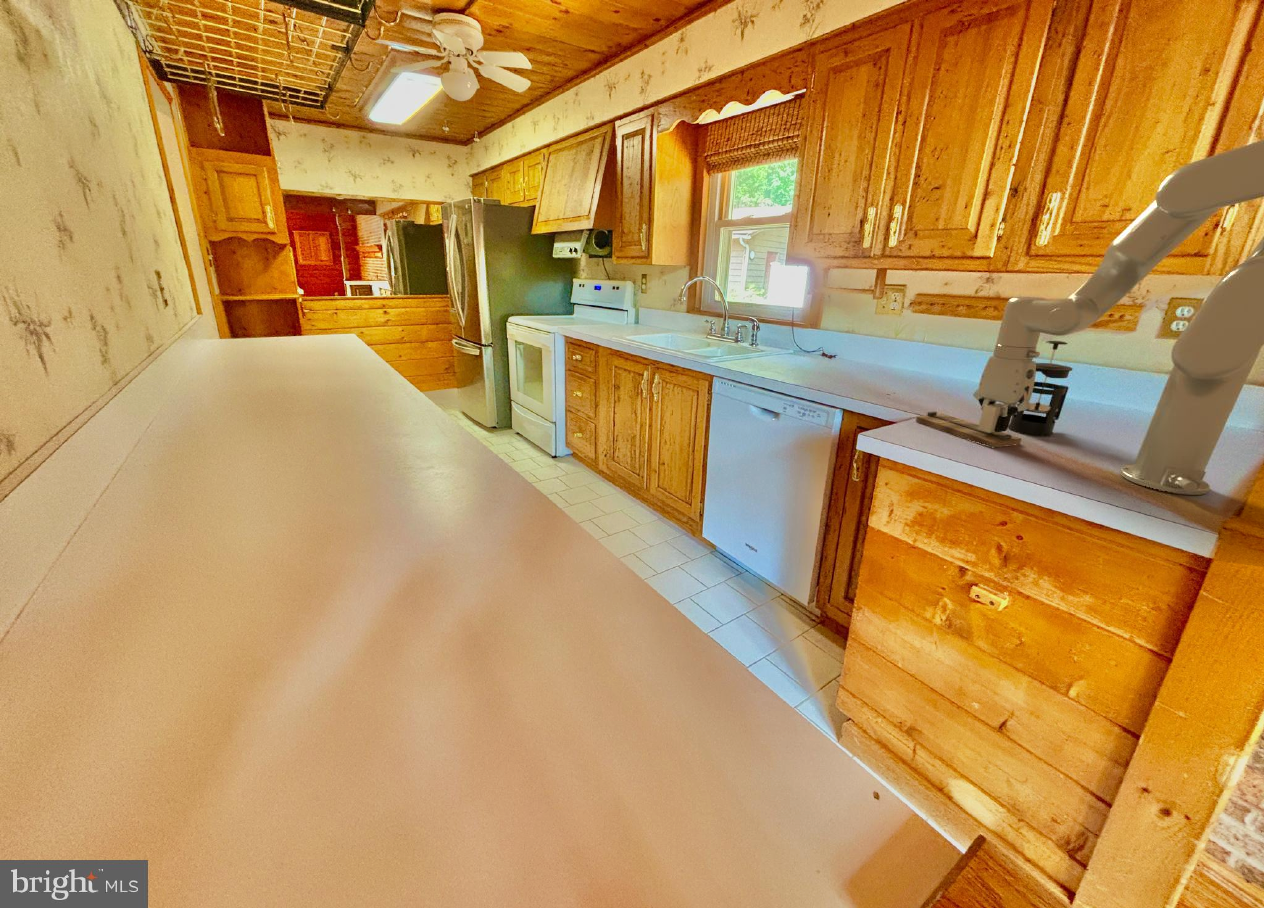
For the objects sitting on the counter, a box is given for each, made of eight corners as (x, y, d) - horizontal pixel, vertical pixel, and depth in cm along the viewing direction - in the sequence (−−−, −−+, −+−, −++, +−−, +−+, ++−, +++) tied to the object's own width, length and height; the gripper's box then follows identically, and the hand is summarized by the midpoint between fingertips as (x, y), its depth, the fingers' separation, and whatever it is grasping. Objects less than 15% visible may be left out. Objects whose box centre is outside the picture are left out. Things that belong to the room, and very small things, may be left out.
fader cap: (1006, 433, 122) (1014, 406, 120) (988, 435, 120) (996, 408, 118) (994, 429, 125) (1002, 403, 122) (976, 432, 123) (984, 405, 121)
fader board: (1019, 444, 121) (1022, 434, 120) (992, 448, 118) (995, 438, 117) (940, 418, 140) (942, 410, 139) (915, 421, 138) (917, 413, 137)
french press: (1026, 437, 126) (1054, 344, 117) (996, 425, 134) (1021, 338, 126) (1068, 435, 127) (1099, 343, 119) (1036, 424, 136) (1062, 337, 127)
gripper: (1063, 358, 109) (1038, 438, 116) (991, 346, 124) (972, 418, 131) (1039, 360, 107) (1015, 441, 114) (968, 348, 122) (951, 420, 128)
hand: (992, 428), depth 122 cm, fingers closed on fader cap, 3 cm apart
